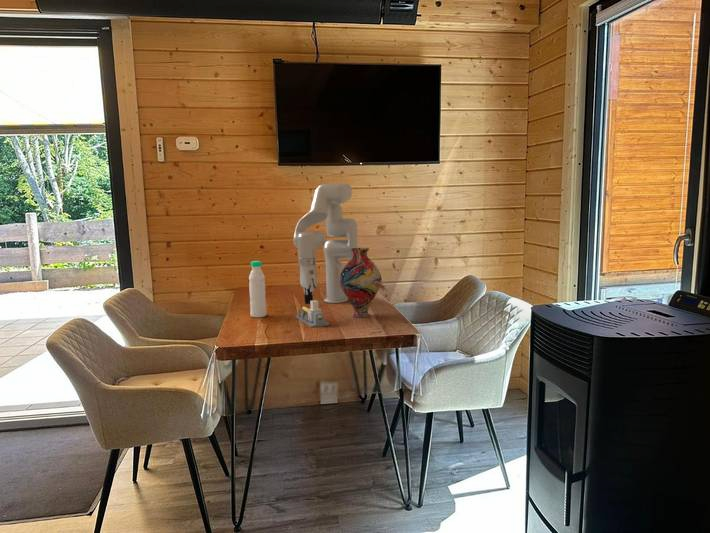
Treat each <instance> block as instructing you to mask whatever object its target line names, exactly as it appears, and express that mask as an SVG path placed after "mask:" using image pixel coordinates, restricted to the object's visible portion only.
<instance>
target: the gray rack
mask: <svg viewBox="0 0 710 533" xmlns="http://www.w3.org/2000/svg"><path fill="white" fill-rule="evenodd" d="M308 309H309V308H308V307H307V306H302V308H301V309H299V308H298V309H297V311H298V313H297V314H298V315H295V318H296V319H298V320H299V321H301V322H302V323H303V324H305V325H307V326H308V327H310V328H316V327H317V328H318V327H325V326H326V327H327V326H330V322H328V321H326V320H324V313H323V312H322V311H321V312H314V313H313V321H310V320H308Z"/></svg>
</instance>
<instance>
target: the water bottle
mask: <svg viewBox="0 0 710 533" xmlns="http://www.w3.org/2000/svg"><path fill="white" fill-rule="evenodd" d="M262 264H263V263H262V261H261V260H253V261H251V262H250V267H251V271H250V273H249V276H248V280H249V282H248V283H249V286H248V289H249V292H248V293H249V307H250V312H249V313H250V317H252V318H264V317H266V316H267V301H266V282H265V279H266V276H265V274H264V273H263V270H262V266H263V265H262Z"/></svg>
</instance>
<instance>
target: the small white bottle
mask: <svg viewBox="0 0 710 533" xmlns="http://www.w3.org/2000/svg"><path fill="white" fill-rule="evenodd" d="M309 306H310V308H308V320H310V321H313V313H314V312H322V308H319V301H318V300H316V299H314V300H312V301H310V304H309Z"/></svg>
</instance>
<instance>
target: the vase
mask: <svg viewBox="0 0 710 533" xmlns="http://www.w3.org/2000/svg"><path fill="white" fill-rule="evenodd" d="M351 250H352V252H353V258H351V259H349V261H348V262H347V263H346V264H345V265H344V268H343V270H342V272H341V275H340V279H339V284H340V287H341V289H342V290H343V292H344V293H345V295H346V296H347V298H348V301H349V302H350V303H349V304H351V306H352V308H353V311H354V313H352V314H351V316H352V317H354V318H368V317H370V316H371V313H369V308H370V306H371V304H372V302H373V300H374V299H375V297H376V296H377V294H378V292H379V290H380V289H381V287H382V284H383V283H382V282H383V280H382V274H381V272H380V270H379V269H378V268H379V267H378V266H377V265H376V264H375V263H374V262H373V261H372V260H371V259H370V258H369V257H368V252H369V250H370V248H368V247H358V248H352V249H351Z"/></svg>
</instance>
